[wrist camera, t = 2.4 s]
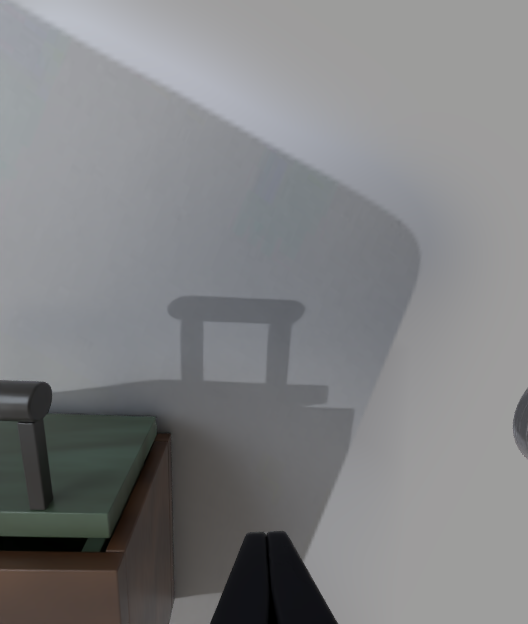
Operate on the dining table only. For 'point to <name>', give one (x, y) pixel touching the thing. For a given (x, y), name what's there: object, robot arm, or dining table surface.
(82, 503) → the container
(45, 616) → the storage unit
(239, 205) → the dining table surface
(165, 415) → the dining table surface
